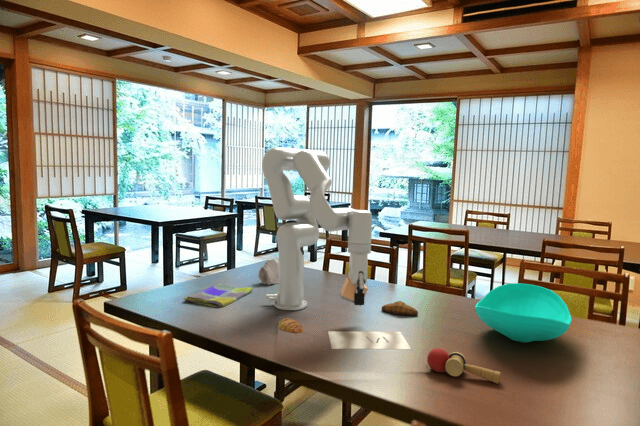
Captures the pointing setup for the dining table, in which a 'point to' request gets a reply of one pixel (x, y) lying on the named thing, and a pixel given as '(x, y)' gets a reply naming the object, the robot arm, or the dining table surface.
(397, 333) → the ash board
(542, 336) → the table top decor
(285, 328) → the pastry
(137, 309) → the dining table surface
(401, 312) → the croissant
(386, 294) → the dining table surface
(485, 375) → the kendama
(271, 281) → the pumice stone
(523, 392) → the dining table surface
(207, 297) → the dish towel
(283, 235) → the robot arm
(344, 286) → the block
